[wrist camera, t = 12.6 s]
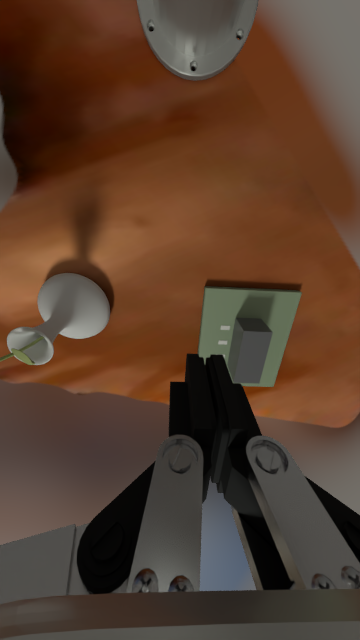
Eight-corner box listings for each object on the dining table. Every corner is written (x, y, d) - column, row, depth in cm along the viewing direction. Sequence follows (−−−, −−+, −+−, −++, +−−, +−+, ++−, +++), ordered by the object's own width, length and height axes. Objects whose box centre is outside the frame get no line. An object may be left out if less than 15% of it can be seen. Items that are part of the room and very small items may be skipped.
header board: (204, 286, 36) (209, 296, 32) (298, 290, 37) (316, 300, 32) (194, 380, 45) (197, 399, 40) (271, 382, 45) (282, 401, 41)
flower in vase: (117, 280, 36) (15, 387, 13) (108, 339, 40) (22, 494, 17) (33, 259, 34) (-254, 341, 11) (34, 323, 38) (-168, 473, 16)
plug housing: (235, 317, 37) (243, 331, 33) (261, 318, 38) (272, 332, 33) (227, 365, 42) (233, 382, 37) (250, 365, 42) (259, 383, 37)
